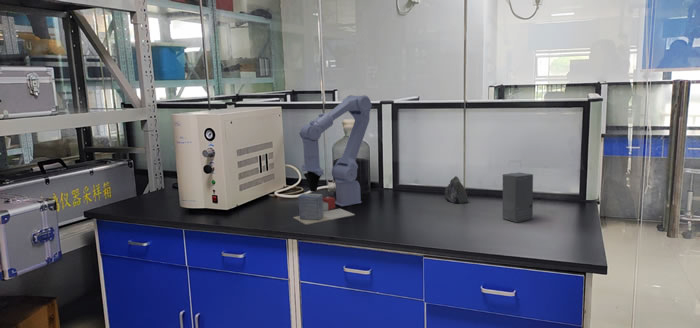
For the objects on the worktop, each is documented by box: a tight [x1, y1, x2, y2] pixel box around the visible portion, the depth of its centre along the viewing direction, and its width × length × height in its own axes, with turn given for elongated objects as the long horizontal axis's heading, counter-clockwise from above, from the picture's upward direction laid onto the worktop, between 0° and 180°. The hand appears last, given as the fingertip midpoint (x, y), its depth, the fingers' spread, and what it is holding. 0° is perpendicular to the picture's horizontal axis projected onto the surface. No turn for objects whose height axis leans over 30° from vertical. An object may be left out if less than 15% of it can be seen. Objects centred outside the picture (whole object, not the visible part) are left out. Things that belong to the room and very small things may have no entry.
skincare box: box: [502, 172, 534, 224], centre depth 168 cm, size 8×7×16 cm
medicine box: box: [297, 193, 324, 220], centre depth 178 cm, size 8×4×9 cm, turn 71°
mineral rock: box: [444, 175, 468, 204], centre depth 198 cm, size 13×11×10 cm
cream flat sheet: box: [292, 208, 356, 226], centre depth 181 cm, size 20×11×1 cm, turn 120°
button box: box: [323, 201, 329, 212], centre depth 190 cm, size 8×8×3 cm
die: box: [323, 196, 336, 211], centre depth 193 cm, size 4×4×4 cm
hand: (313, 191), depth 189 cm, fingers closed
